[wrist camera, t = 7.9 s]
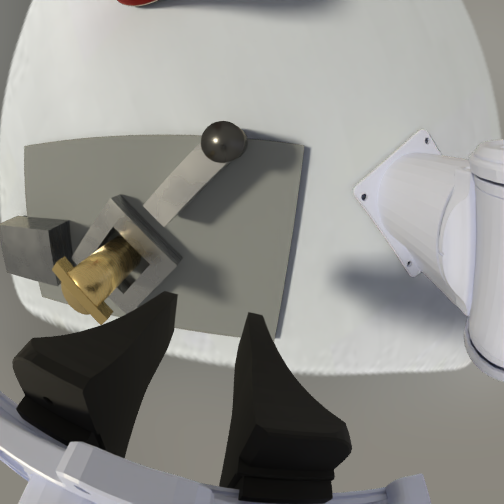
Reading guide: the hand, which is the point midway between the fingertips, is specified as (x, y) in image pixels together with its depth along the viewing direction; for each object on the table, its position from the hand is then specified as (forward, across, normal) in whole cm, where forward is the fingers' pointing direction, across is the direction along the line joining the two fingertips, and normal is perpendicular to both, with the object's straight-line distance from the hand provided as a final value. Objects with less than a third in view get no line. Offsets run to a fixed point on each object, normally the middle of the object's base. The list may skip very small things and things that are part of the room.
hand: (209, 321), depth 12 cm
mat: (+10, +8, +1) cm, 13 cm away
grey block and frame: (+9, +14, +4) cm, 17 cm away
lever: (+9, +3, -5) cm, 11 cm away
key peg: (+9, +9, +3) cm, 13 cm away
